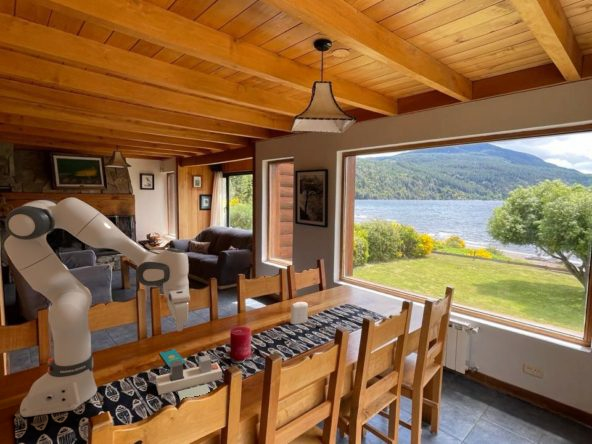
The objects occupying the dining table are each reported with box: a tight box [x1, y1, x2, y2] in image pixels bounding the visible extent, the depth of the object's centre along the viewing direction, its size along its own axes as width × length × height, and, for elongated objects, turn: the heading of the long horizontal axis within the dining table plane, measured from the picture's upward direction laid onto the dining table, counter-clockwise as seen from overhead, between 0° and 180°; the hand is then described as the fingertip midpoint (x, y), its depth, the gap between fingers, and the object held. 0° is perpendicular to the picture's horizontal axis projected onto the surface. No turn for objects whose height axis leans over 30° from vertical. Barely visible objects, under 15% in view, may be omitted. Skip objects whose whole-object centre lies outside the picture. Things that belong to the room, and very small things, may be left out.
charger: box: [169, 360, 184, 381], centre depth 131 cm, size 4×4×9 cm
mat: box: [177, 383, 211, 402], centre depth 127 cm, size 11×7×1 cm, turn 120°
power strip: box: [155, 354, 223, 396], centre depth 134 cm, size 24×7×8 cm, turn 120°
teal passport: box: [159, 348, 186, 368], centre depth 151 cm, size 7×1×15 cm
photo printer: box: [289, 301, 309, 325], centre depth 196 cm, size 10×4×12 cm, turn 116°
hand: (177, 325), depth 129 cm, fingers open, 8 cm apart
